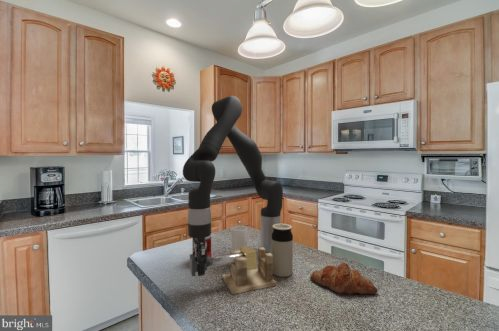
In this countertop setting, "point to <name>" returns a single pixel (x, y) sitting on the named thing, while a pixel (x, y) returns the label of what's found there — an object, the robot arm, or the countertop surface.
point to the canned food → (208, 240)
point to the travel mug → (282, 250)
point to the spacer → (250, 257)
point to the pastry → (343, 280)
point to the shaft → (214, 261)
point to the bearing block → (250, 273)
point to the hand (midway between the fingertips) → (200, 272)
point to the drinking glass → (238, 237)
